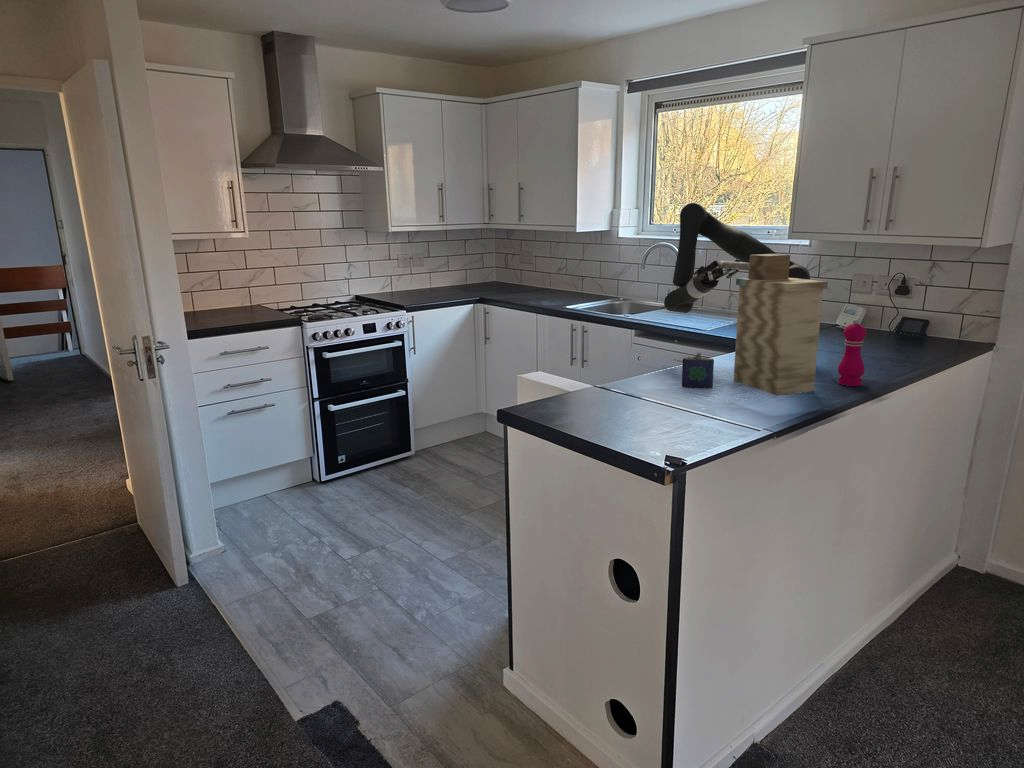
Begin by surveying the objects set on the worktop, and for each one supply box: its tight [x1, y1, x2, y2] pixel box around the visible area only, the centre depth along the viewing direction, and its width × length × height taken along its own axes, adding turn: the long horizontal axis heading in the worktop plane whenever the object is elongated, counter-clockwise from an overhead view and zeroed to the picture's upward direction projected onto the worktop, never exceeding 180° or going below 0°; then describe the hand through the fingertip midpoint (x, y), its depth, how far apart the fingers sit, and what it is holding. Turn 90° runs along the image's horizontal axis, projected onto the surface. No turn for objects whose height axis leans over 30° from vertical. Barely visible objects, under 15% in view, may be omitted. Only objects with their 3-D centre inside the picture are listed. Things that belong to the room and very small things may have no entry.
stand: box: [733, 277, 829, 396], centre depth 195 cm, size 22×14×32 cm, turn 18°
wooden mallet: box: [717, 253, 791, 280], centre depth 204 cm, size 28×8×7 cm, turn 18°
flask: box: [681, 352, 715, 389], centre depth 198 cm, size 9×3×11 cm, turn 78°
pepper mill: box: [837, 318, 867, 387], centre depth 197 cm, size 7×7×20 cm
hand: (728, 262), depth 214 cm, fingers open, 8 cm apart
